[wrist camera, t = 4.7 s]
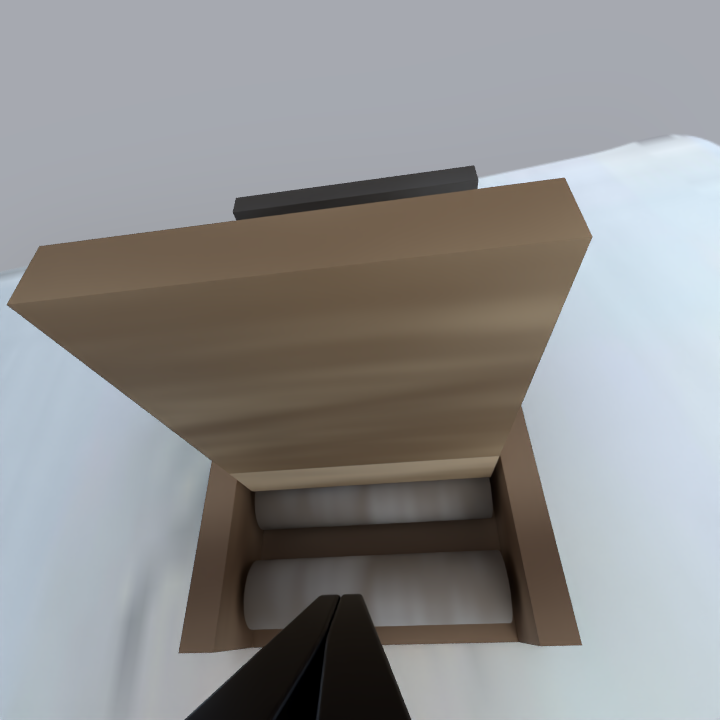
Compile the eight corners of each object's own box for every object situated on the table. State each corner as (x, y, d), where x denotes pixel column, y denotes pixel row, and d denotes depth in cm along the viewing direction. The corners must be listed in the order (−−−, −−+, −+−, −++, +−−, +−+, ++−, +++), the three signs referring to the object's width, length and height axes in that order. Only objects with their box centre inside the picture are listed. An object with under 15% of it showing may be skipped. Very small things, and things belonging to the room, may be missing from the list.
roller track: (548, 640, 13) (611, 648, 9) (229, 647, 14) (136, 657, 10) (464, 259, 22) (474, 165, 18) (273, 281, 24) (236, 198, 19)
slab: (490, 476, 14) (591, 236, 5) (252, 491, 14) (6, 304, 6) (462, 328, 17) (496, 31, 8) (268, 346, 18) (124, 94, 9)
